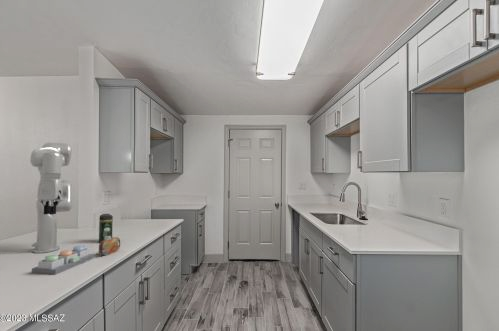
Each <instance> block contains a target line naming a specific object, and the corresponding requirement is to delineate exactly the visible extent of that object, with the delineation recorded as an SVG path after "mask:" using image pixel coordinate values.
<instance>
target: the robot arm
mask: <svg viewBox="0 0 499 331" xmlns="http://www.w3.org/2000/svg"><path fill="white" fill-rule="evenodd" d="M71 157H72V148H71V145H70V144H69V143H63V142H61V143H60V142H47V143H44V144H43V145H42V147H40V148H36V149H33V150H32V152H31V153H30V158H29V159H30V164H31V166H32V167H36V168H37V170H38V171H39V174H40V175H39V176H40V179H39V183H38V186H37V187H38V188H37V195H36V196H37V197H36V198H37V200H36V203H35V204H36V211H37V212H36V213H37V222H36V223H37V224H36V225H37V226H36V229H37V230H36V242H33V243H31V247H32V248H33V247H34V249H32V252H33V253H35V254H40V253H41V254H42V253H44V254H45V253H50V252H55V251H57V250H60V246H59V245H57V244H58V243H57V242H58V240H57V239H58V218H57V216H56V214H57V213H62V212H63V213H64V212H65V213H66V212H70V211H71V210H72V208H73V187H72V186H73V185H72V183H71V182H70V181H69V180H63V179H61V177H62V176H61V173H62V167H68V166H70V163H71Z"/></svg>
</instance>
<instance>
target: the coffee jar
mask: <svg viewBox="0 0 499 331" xmlns="http://www.w3.org/2000/svg"><path fill="white" fill-rule="evenodd" d="M113 220H114V217H113V215H112V214H110V213H102V214H100V215H99V220H98V221H99V222H98V223H99V224H98V225H99V226H98V241H99V244H100V243H101V242H102V241H104V240H107V239H110V238H113V222H114V221H113Z"/></svg>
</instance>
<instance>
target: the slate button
mask: <svg viewBox="0 0 499 331" xmlns="http://www.w3.org/2000/svg"><path fill="white" fill-rule="evenodd" d="M72 250H73V252H81V251H84V250H85V245H77V246H74V247H73V249H72Z"/></svg>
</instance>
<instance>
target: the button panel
mask: <svg viewBox="0 0 499 331" xmlns="http://www.w3.org/2000/svg"><path fill="white" fill-rule="evenodd" d="M57 255H58V260H56V261H53V262H45V259H42V260H39V261H38V262H37V264H38V265H37V266H35V267H32V268H31V274H41V273H42V274H43V275H44V274H45V275H58V274H60V273H62V272H64V271H67V270H69V269H72V268H74V267H76V266H79V265H81V264H84V263H86V262H88V261H90V260H92V259H95V254H94V253H90V248H85V250H84V251H81V252H73V249H72V255H70V256H67V257H64V256H60V253H59V254H57Z"/></svg>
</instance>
